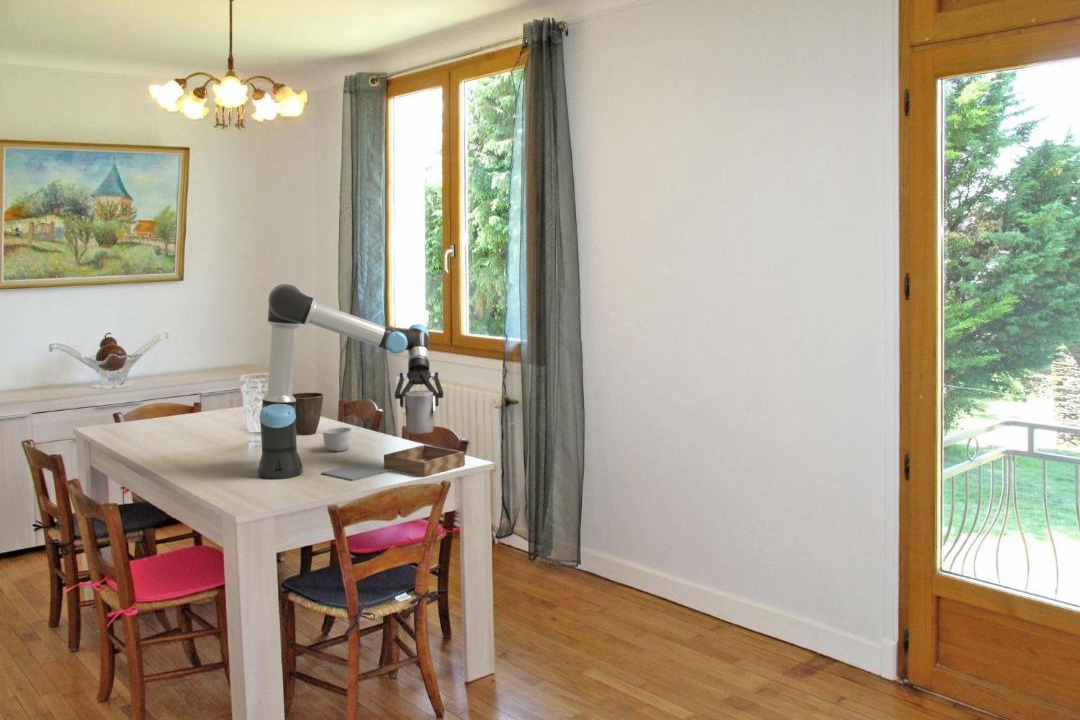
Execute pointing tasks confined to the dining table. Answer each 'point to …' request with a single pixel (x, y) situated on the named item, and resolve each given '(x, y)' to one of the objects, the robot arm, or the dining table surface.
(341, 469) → the grey rubber mat
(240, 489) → the dining table surface
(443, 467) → the walnut box
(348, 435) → the teacup
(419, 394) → the pillar candle
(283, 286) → the robot arm
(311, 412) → the plant pot
